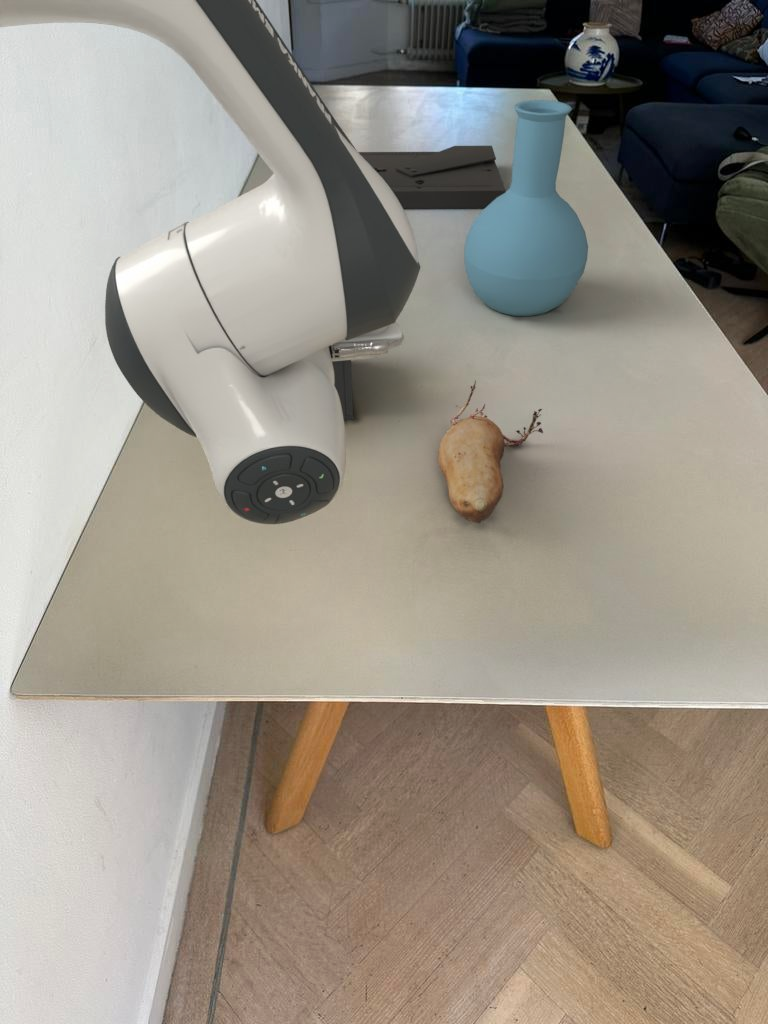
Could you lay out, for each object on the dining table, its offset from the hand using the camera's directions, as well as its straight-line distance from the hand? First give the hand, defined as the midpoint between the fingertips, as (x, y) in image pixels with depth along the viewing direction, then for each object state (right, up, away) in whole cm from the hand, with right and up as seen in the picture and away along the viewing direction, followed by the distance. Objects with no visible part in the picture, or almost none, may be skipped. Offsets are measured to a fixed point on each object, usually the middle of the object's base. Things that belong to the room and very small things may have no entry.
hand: (264, 282), depth 67 cm
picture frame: (+18, +42, +78) cm, 90 cm away
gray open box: (-1, -6, +23) cm, 23 cm away
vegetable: (+21, -18, +9) cm, 29 cm away
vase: (+30, +10, +41) cm, 51 cm away
